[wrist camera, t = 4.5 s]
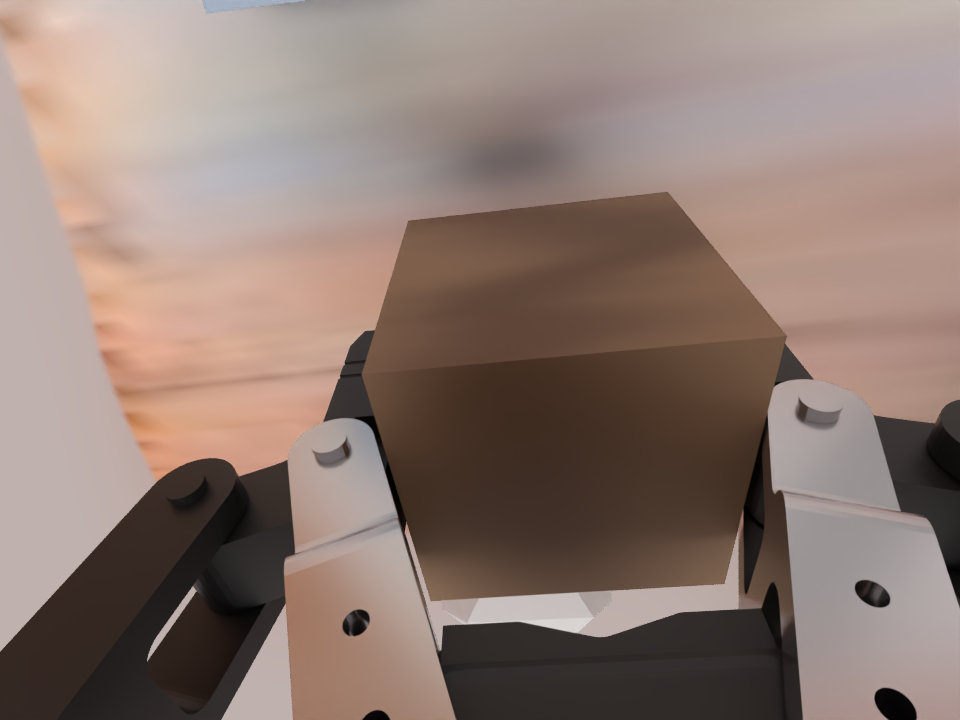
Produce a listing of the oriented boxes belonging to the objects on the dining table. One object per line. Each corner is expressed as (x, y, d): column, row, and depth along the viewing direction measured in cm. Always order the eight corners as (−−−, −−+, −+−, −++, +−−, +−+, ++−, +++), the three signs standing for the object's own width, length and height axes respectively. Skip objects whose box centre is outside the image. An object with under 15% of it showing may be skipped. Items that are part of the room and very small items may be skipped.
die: (428, 429, 26) (450, 527, 34) (417, 622, 20) (447, 692, 27) (604, 419, 26) (588, 520, 33) (647, 612, 20) (617, 686, 27)
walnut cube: (667, 192, 10) (786, 335, 6) (650, 394, 13) (724, 584, 9) (408, 220, 11) (361, 373, 7) (447, 412, 14) (431, 601, 10)
